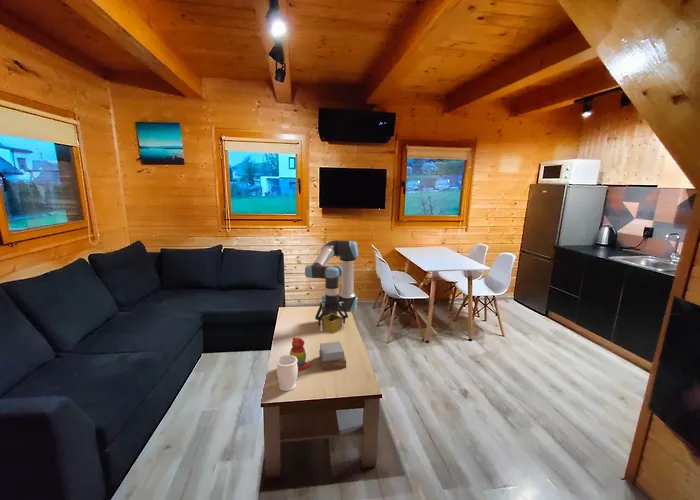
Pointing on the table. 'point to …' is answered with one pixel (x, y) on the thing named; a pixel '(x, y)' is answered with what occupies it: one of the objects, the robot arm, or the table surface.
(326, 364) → the walnut base slab
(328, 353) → the grey top slab
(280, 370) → the jar
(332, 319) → the flower pot
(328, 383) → the table surface
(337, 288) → the robot arm
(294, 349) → the stacking bear
